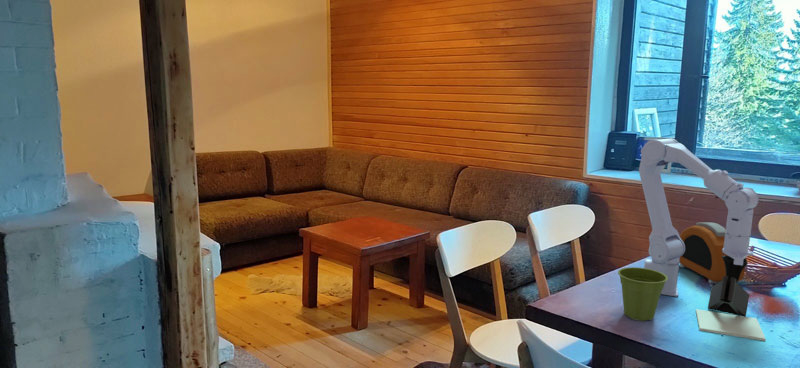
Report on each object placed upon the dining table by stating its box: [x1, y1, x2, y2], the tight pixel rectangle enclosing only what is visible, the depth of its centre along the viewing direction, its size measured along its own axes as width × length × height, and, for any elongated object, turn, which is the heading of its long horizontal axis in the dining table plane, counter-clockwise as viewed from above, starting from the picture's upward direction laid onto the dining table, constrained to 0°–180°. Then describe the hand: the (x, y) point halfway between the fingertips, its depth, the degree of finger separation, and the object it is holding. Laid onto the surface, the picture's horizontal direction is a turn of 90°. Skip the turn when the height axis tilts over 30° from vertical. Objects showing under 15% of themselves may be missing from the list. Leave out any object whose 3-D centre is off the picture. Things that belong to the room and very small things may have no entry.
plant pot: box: [617, 266, 668, 322], centre depth 154 cm, size 12×12×11 cm
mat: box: [695, 308, 766, 342], centre depth 151 cm, size 14×14×1 cm
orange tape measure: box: [679, 221, 745, 284], centre depth 190 cm, size 23×9×17 cm, turn 6°
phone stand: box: [707, 276, 750, 317], centre depth 156 cm, size 9×6×12 cm
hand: (731, 284), depth 159 cm, fingers closed
